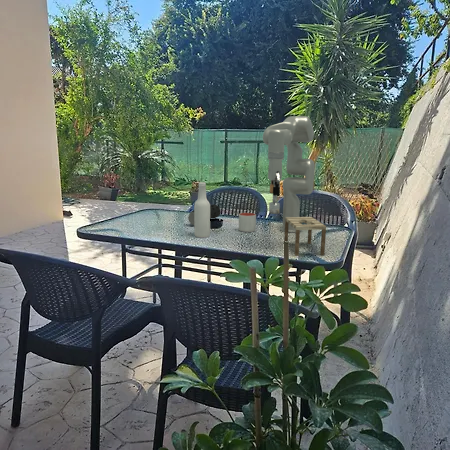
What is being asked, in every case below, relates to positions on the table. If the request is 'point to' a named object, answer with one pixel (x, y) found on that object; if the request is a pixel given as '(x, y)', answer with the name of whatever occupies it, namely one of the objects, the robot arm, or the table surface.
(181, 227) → the table surface
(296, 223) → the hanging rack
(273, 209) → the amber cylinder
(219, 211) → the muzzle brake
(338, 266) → the table surface
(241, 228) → the cup
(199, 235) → the alcohol
